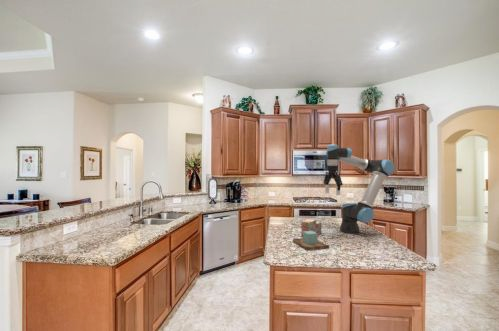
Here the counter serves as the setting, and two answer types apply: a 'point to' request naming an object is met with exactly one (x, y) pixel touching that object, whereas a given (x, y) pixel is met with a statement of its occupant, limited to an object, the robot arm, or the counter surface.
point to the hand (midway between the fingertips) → (332, 194)
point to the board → (311, 246)
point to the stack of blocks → (311, 226)
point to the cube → (309, 237)
